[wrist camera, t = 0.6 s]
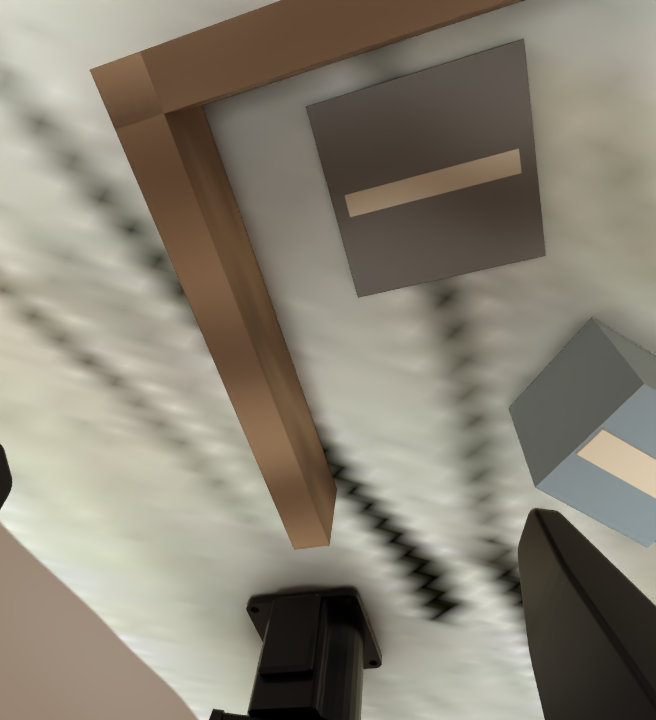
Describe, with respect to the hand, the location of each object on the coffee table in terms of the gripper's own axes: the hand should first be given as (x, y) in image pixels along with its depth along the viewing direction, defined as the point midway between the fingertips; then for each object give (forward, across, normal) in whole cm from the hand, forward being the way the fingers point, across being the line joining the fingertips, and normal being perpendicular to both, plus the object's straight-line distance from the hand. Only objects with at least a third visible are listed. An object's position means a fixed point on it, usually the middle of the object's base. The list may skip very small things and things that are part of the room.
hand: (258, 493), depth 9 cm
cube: (+13, -11, +5) cm, 18 cm away
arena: (+13, -5, 0) cm, 14 cm away
